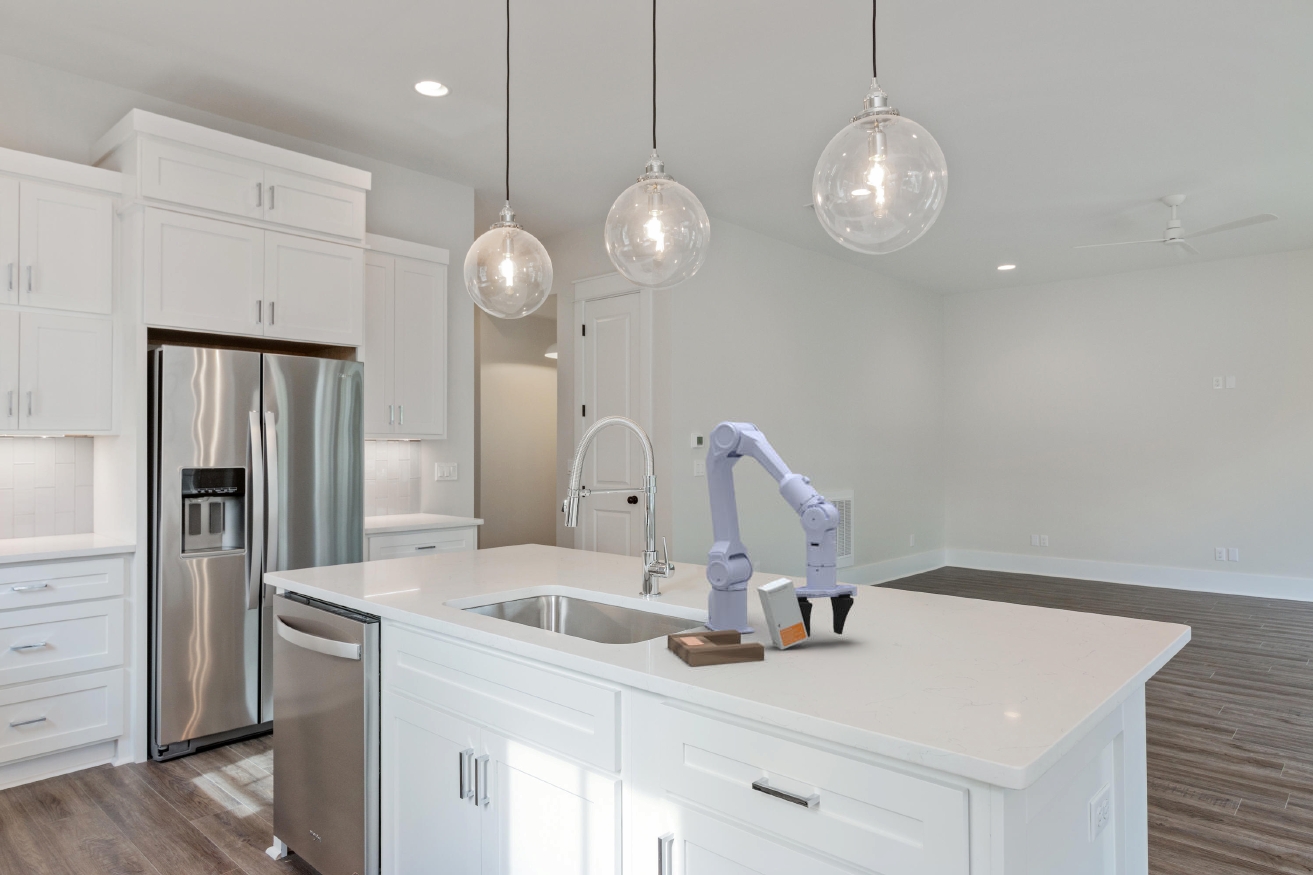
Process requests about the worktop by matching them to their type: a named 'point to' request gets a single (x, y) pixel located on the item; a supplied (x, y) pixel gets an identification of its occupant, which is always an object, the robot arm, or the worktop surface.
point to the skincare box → (782, 613)
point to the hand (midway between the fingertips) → (822, 634)
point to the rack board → (714, 648)
